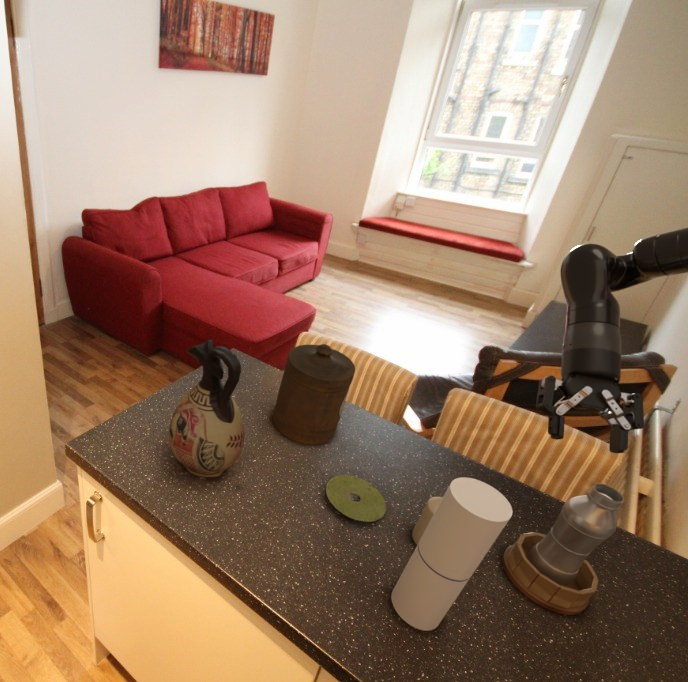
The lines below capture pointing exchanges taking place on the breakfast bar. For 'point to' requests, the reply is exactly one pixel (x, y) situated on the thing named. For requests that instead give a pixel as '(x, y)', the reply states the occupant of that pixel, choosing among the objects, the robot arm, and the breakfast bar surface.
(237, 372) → the ceramic jug
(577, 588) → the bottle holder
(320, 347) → the wooden container
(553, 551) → the silver metal bottle
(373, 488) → the mat
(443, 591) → the cylindrical container
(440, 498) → the candle
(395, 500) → the breakfast bar surface
